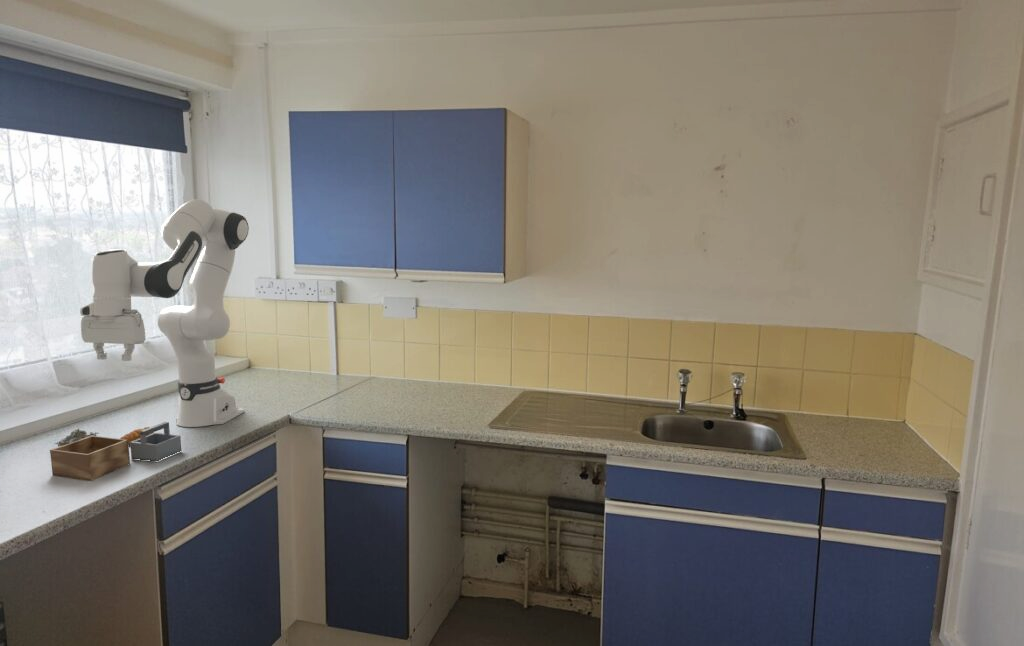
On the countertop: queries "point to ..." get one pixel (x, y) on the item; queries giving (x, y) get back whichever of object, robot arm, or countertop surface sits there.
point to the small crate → (155, 444)
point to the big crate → (90, 457)
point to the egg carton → (75, 437)
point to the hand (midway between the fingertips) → (114, 360)
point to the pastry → (134, 435)
